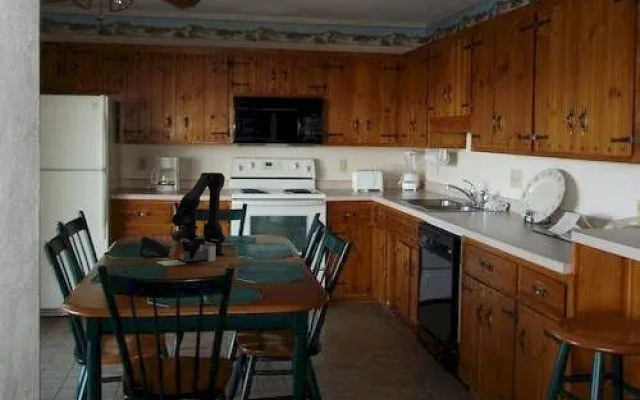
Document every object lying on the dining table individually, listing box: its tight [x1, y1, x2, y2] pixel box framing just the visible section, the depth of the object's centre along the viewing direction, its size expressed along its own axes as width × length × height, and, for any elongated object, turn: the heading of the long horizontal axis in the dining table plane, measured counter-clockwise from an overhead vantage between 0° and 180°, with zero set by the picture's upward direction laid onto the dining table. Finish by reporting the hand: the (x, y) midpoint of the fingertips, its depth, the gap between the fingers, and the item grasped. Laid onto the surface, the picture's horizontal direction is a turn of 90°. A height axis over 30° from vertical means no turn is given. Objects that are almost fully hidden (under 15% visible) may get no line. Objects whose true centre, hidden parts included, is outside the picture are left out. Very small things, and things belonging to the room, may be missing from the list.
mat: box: [155, 259, 187, 267], centre depth 315 cm, size 10×9×1 cm
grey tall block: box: [179, 249, 208, 263], centre depth 322 cm, size 15×4×4 cm, turn 129°
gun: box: [139, 236, 172, 259], centre depth 331 cm, size 3×16×10 cm, turn 78°
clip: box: [199, 241, 217, 263], centre depth 326 cm, size 3×9×8 cm, turn 39°
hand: (189, 258), depth 320 cm, fingers closed on grey tall block, 4 cm apart
